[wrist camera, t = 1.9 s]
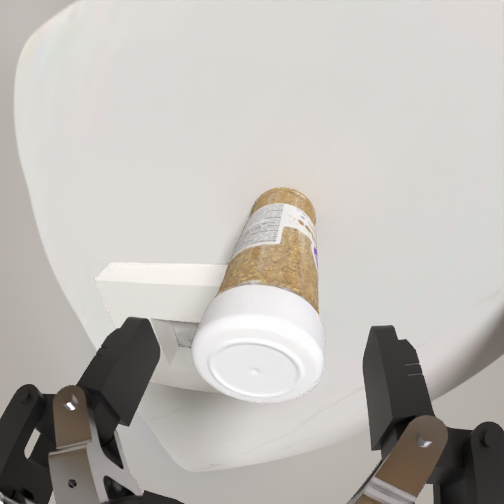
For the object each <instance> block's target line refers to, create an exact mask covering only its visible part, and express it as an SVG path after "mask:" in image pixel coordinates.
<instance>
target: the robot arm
mask: <svg viewBox="0 0 504 504" xmlns="http://www.w3.org/2000/svg"><path fill="white" fill-rule="evenodd" d="M159 359H160V345H159V343H158V340H157V338H156V336H155V333H154V331H153V328H152V325H151V323H150V321H149V320H148V319H147V318H139V317H128V318H127V319H126V320H125V322H124V323H123V325H122V326H121V328H117V329H116V330H115V331H113V332H112V333H111V334H110V335H108V336H107V338H106V339H105V341H104V342H103V344H102V345H101V348H99V350H98V352H97V353H96V356H94V358H93V359H92V361H91V362H90V364H89V366H88V367H87V369H86V370H85V372H84V373H83V375H82V377H81V378H80V380H79V382H78V383H77V384H76V386H75V385H69V386H66V387H64V388H62V389H61V390H60V391H59V392H58V393H57V394H41V392H40V391H39V390H38V389H37V388H36V387H35V386H34V385H32V384H26V385H23V386H22V387H20V388H19V389H18V390H17V391H16V393H15V394H14V396H13V398H12V399H11V401H10V403H9V405H8V406H7V408H6V410H5V411H4V413H3V415H2V417H1V419H0V504H48V502H49V500H50V497H51V494H52V491H53V490H54V495H55V500H56V504H184V503H182V502H180V501H178V500H176V499H172V498H168V497H165V496H162V495H158V494H155V493H152V492H148V491H146V490H144V493H142V491H141V489H140V487H139V485H138V483H137V482H136V480H135V479H134V478H133V476H132V475H131V473H130V471H129V468H128V465H127V462H126V459H125V456H124V453H123V449H122V446H121V442H120V439H119V435H118V432H117V430H116V427H117V425H118V424H121V425H125V426H129V425H130V423H131V421H132V418H133V416H134V414H135V412H136V410H137V407H138V405H139V403H140V401H141V398H142V396H143V394H144V392H145V390H146V388H147V385H148V383H149V381H150V379H151V377H152V375H153V372H154V370H155V368H156V366H157V364H158V362H159ZM363 376H364V383H365V390H366V398H367V407H368V416H369V426H370V436H371V450H372V451H373V450H381V455H382V459H381V460H380V462H379V463H378V465H377V466H376V467H375V469H374V470H373V471H372V473H371V474H370V476H369V477H368V478H367V479H366V481H365V482H364V483H363V485H362V486H361V487H360V488H359V489H358V491H357V492H356V493H355V494H354V495H353V497H352V498H351V499H350V500H349V501H348V502H347V504H415V500H416V498H417V497H418V495H419V493H420V492H421V490H422V488H423V487H424V485H425V483H426V484H433V493H434V504H504V431H503V429H502V428H501V427H500V426H499V425H498V424H496V423H494V422H484V423H481V424H480V425H478V426H477V427H476V428H475V429H474V430H464V429H454V428H449V427H447V426H445V424H444V423H443V422H442V421H441V420H440V419H438V418H436V416H435V414H434V412H433V409H432V405H431V401H430V397H429V393H428V390H427V386H426V383H425V379H424V376H423V375H422V369H421V366H420V365H419V359H418V356H417V353H416V350H415V349H414V348H413V346H412V345H411V344H410V343H409V342H408V341H407V339H404V340H398V338H397V335H396V331H395V328H394V326H393V325H388V326H372V327H371V329H370V333H369V337H368V341H367V345H366V348H365V352H364V356H363ZM34 428H35V429H36V430H37V431H39V432H40V433H41V434H40V436H39V438H38V440H37V442H36V444H35V446H34V449H33V451H32V453H31V455H30V457H29V458H28V459H26V457H25V454H24V449H25V447H26V445H27V443H28V441H29V439H30V437H31V434H32V432H33V430H34Z"/></svg>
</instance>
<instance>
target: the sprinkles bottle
mask: <svg viewBox="0 0 504 504" xmlns="http://www.w3.org/2000/svg"><path fill="white" fill-rule="evenodd" d="M315 223H316V217H315V211H314V208H313V206H312V204H311V202H310V201H309V200H308V199H307V198H306V197H305V196H304V195H303V194H302V193H300V192H298V191H297V190H294V189H289V188H274V189H271V190H269V191H267V192H265V193H264V194H262V195H261V196H260V197H259V198H258V199H257V200H256V202H255V204H254V207H253V209H252V215H251V217H250V218H249V220H248V221H247V223H246V225H245V228H244V230H243V232H242V234H241V237H240V239H239V241H238V243H237V246H236V248H235V250H234V252H233V255H232V257H231V259H230V261H229V264H228V266H227V269H226V272H225V276H224V279H223V281H222V283H221V286H220V288H219V291H218V293H217V295H216V296H215V297H214V299H213V300H212V301H211V302H210V304H209V305H208V306H207V308H206V309H205V311H204V314H203V316H202V318H201V320H200V323H199V325H198V328H197V330H196V333H195V335H194V338H193V341H192V345H191V357H192V361H193V364H194V366H195V368H196V370H197V371H198V373H199V374H200V376H201V377H202V378H203V379H204V380H205V381H206V382H207V383H208V384H210V385H211V386H212V387H214V388H215V389H217V390H219V391H220V392H222V393H224V394H226V395H228V396H231V397H234V398H236V399H240V400H243V401H248V402H254V403H280V402H285V401H289V400H293V399H296V398H298V397H300V396H302V395H304V394H306V393H307V392H309V391H310V390H311V389H313V388H314V387H315V386H316V385H317V383H318V382H319V380H320V379H321V377H322V375H323V372H324V368H325V332H324V326H323V323H322V320H321V318H320V316H319V310H318V309H319V308H318V261H317V240H316V231H315Z"/></svg>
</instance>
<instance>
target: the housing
mask: <svg viewBox="0 0 504 504" xmlns="http://www.w3.org/2000/svg"><path fill="white" fill-rule="evenodd" d="M227 266H228V264H164V263H114V262H111V263H110V264H109V265H108V266H107V268H106V269H105V270H104V271H103V272H102V273H101V274H100V275H99V276H98V277H97V278H96V279H95V282H96V285H97V287H98V290H99V292H100V295H101V297H102V299H103V302H104V304H105V306H106V309H107V311H108V313H109V315H110V318H111V320H112V322H113V324H114V326H115V329H117V328H121V326H122V325H123V323H124V322H125V320H126V319H127V318H128V317H139V318H147V319H148V320H149V321H150V323H151V325H152V328H153V331H154V333H155V336H156V338H157V340H158V343H159V345H160V359H159V362H158V364H157V366H156V368H155V370H154V372H153V375H152V377H151V379H150V381H149V382H151V383H156V384H161V385H166V386H171V387H177V388H183V389H189V390H195V391H202V392H209V393H217V394H224V393H222V392H220V391H219V390H217V389H215V388H214V387H212V386H211V385H210V384H208V383H207V382H206V381H205V380H204V379H203V378H202V377H201V376H200V374H199V373H198V371H197V370H196V368H195V366H194V364H193V361H192V357H191V348H189V347H181V346H179V344H178V341H177V338H176V335H175V332H174V330H173V327H172V324H171V321H170V320H172V321H183V322H195V323H200V320H201V318H202V316H203V314H204V311H205V309H206V308H207V306H208V305H209V304H210V302H211V301H212V300H213V299H214V297H215V296H216V295H217V293H218V291H219V288H220V286H221V283H222V281H223V279H224V276H225V272H226V269H227ZM225 395H226V394H225Z"/></svg>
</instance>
